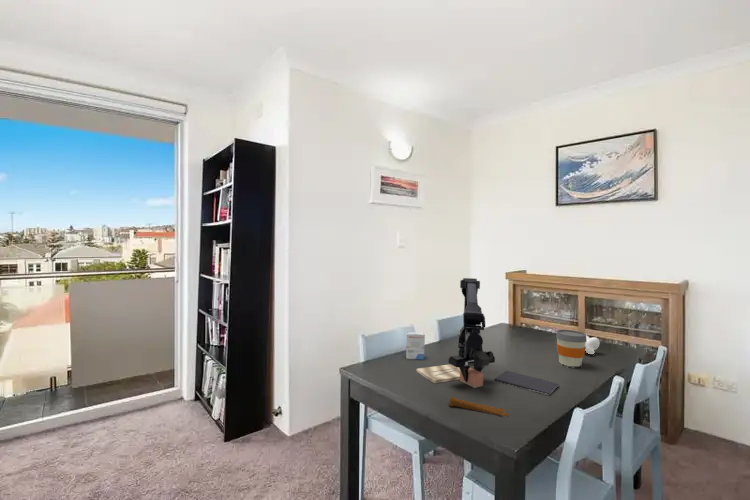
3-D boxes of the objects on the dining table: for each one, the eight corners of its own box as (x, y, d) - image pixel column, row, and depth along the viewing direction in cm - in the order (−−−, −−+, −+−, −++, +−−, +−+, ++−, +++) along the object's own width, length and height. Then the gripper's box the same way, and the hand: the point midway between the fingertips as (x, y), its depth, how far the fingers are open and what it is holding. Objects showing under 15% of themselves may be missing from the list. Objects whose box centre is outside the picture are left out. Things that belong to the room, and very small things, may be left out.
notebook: (494, 382, 151) (549, 397, 137) (494, 378, 151) (550, 393, 137) (506, 374, 161) (559, 387, 147) (506, 370, 161) (559, 383, 147)
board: (455, 366, 168) (455, 363, 168) (475, 376, 155) (475, 374, 155) (416, 371, 160) (416, 368, 160) (434, 383, 147) (434, 380, 147)
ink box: (423, 356, 181) (424, 332, 181) (424, 359, 176) (424, 334, 176) (406, 355, 182) (406, 331, 182) (406, 358, 177) (406, 334, 177)
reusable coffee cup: (567, 370, 166) (569, 336, 165) (549, 361, 178) (550, 330, 178) (592, 369, 168) (593, 336, 168) (572, 360, 181) (573, 329, 180)
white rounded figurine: (590, 350, 198) (591, 333, 198) (605, 357, 186) (606, 339, 186) (570, 349, 198) (570, 333, 198) (583, 357, 186) (584, 339, 186)
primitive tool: (507, 411, 125) (507, 401, 125) (509, 419, 120) (509, 408, 120) (449, 404, 130) (449, 394, 130) (448, 411, 125) (448, 400, 125)
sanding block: (468, 379, 153) (468, 366, 153) (482, 385, 146) (483, 373, 146) (459, 380, 150) (460, 368, 150) (474, 387, 144) (474, 375, 143)
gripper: (465, 349, 137) (464, 391, 137) (505, 345, 144) (504, 385, 144) (448, 341, 147) (447, 381, 147) (486, 337, 154) (484, 375, 155)
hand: (471, 380), depth 148 cm, fingers closed on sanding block, 5 cm apart
